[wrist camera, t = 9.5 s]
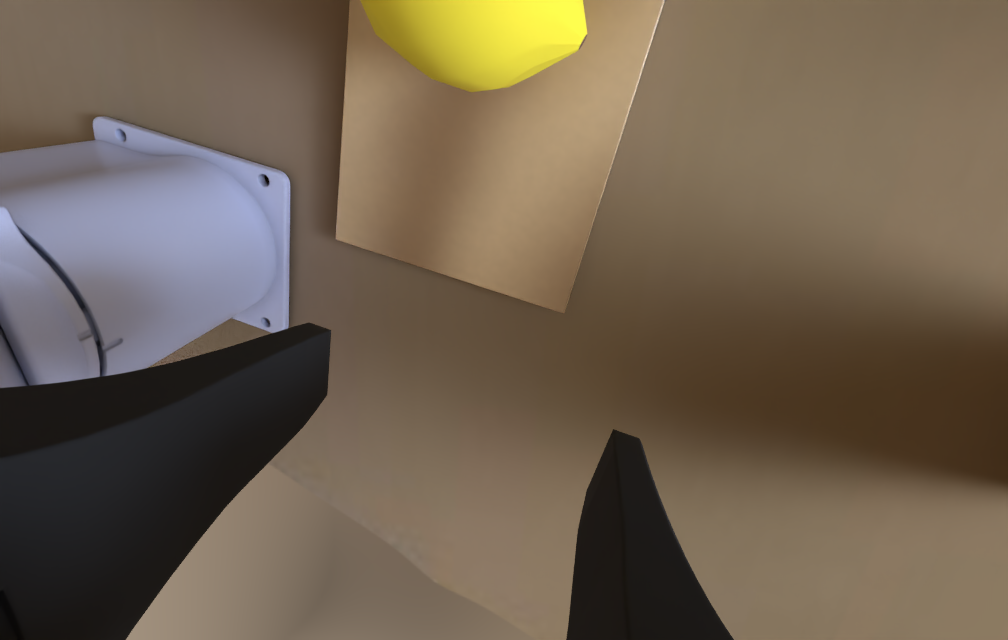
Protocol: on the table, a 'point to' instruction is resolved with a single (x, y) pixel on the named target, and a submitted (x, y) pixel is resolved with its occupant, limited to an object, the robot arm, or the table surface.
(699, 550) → the table surface
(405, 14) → the lemon
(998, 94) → the table surface
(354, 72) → the birch board
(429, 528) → the table surface
